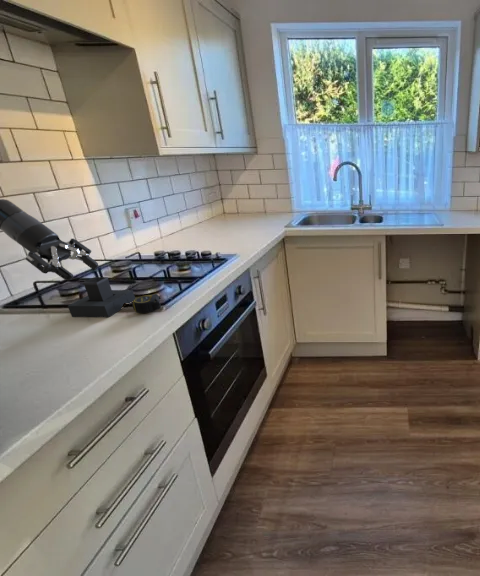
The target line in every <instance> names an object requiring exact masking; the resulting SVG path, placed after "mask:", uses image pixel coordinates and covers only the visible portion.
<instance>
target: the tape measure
mask: <svg viewBox="0 0 480 576" xmlns="http://www.w3.org/2000/svg"><path fill="white" fill-rule="evenodd" d="M131 305H132V309H133V311H134V312H135V313H137V314H148V313H151V312H154V311H158V310H160V309H161V295H159V294H157V293H153V294H147V295H142V296H141V295H140V296H138V297H135V299H134V300H133V303H131Z"/></svg>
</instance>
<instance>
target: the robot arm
mask: <svg viewBox="0 0 480 576" xmlns="http://www.w3.org/2000/svg"><path fill="white" fill-rule="evenodd" d="M0 230H1V231H2V232H3V234H5V235H7V237H8V238H10V239H11V240H12V241H14V242H15V243H17V244H18V245H20V246H21V247H22V248H24V249H25V250H27V251H28V253H27V255H26V257H25V260H26V262H28V263H30V264H31V265H32V266H33V267H34V268H36V269H37V270H39V272H40V273H43V274H48V273H52V274H56V275H57V276H59V277H60V278H61V279H63V280H65V281H72V279H73V277H74V274H73V273H71V272H70V271H69V270H68V269H66V268H65V267H63V266H62V265H61V266H60V262H62V261H66V260H68V259H69V260H72V261H73V260H78V261H81V262H82V263H83V264H84V265H86V266H87V267H88V268H90V269H91V270H93V271H95V270H97V269H98V267H99V263H98V261H96V260H94V259H93V258H92V257H91V256H90V254H91V253H92V250H91V249H90V248H88V247H87V246H85V245H84V244H83V243H81V242H80V241H78V240H77V239H75V238H70V240H69V241H63V240H61V239H60V237H59V235H58V234H57V233H56V232H54V231H53V230H52V229H51V228H49V227H48V226H46V225H45V224H44V223H42V222H41V221H39V220H38V219H37V218H35V217H34V216H32V215H31V214H29V213H27V212H26V211H24V210H23V209H22V208H21V207H20V206H18V205H16V204H15V203H14V202H12V201H10V200H8V199H4V198H1V199H0Z"/></svg>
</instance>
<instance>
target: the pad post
mask: <svg viewBox="0 0 480 576" xmlns="http://www.w3.org/2000/svg"><path fill="white" fill-rule="evenodd" d="M110 284H111V283H110V281H109V277H108V276H107V277H100V276H99V277H98V276H97V277H96V276H94V277H92V278H90V279H88V280H85V281H84V282H83V281H82V285H83V286H84V288H85V292H86V294H87V296H88V297H89V299H90V301H99V302H103V301H105V300H107V299H108V298H110V297H112V296H114V295H113V292H112V290H113V289H112V287H111V285H110Z"/></svg>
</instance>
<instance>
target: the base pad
mask: <svg viewBox="0 0 480 576" xmlns="http://www.w3.org/2000/svg"><path fill="white" fill-rule="evenodd" d="M111 290H112V292H113V295H114V296H112V297H110V298H108V299H107V300H105V301H103V302H99V301H90V299H89V297H88V295H86V296H84V297H82V298H80V299H78V300H76V301H74V302H71V303H70V304H68V305H67V309H68V311H69V314H70V315H71V317H72V318H110V317H112V316H113V315H115V314H116V313H118V312H120V311H122V309H121V308H122V306H123V304H124V303H130V302H132V301H133V300H134V299H136V296H135V293H134V290H133V289H111Z"/></svg>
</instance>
